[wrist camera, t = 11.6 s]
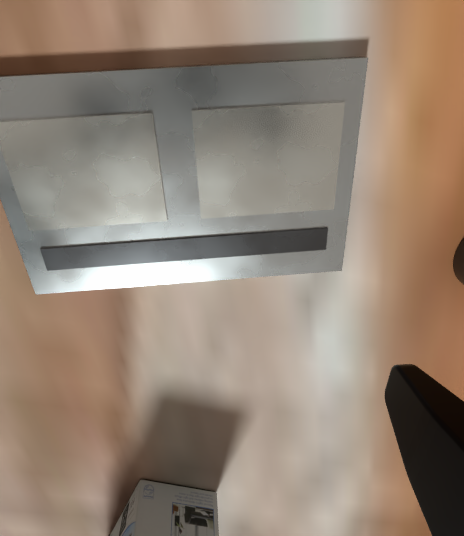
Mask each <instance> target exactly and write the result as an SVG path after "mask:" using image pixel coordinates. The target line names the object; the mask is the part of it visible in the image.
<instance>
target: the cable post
mask: <svg viewBox="0 0 464 536" xmlns="http://www.w3.org/2000/svg"><path fill="white" fill-rule="evenodd" d="M453 269H454V273H455V275H456V277H457V278H458V280H459V281H460V282H461V283H463V284H464V238H463V240H462V241H461V243H460V244H459V246H458V248H457V250H456V252H455V255H454V260H453Z"/></svg>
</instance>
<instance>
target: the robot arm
mask: <svg viewBox="0 0 464 536" xmlns="http://www.w3.org/2000/svg"><path fill="white" fill-rule="evenodd" d="M385 402H386V406H387V409H388V412H389V416H390V419H391V423H392V426H393V429H394V433H395V436H396V439H397V443H398V446H399V449H400V453H401V456H402V460H403V463H404V466H405V469H406V472H407V475H408V478H409V480H410V483H411V485H412V488H413V490H414V493H415V495H416V498H417V500H418V502H419V505H420V507H421V510H422V512H423V515H424V517H425V519H426V522H427V524H428V527H429V529H430V531H431V534H432V536H464V401H462V400H461V399H460V398H458V397H457V396H456V395H454V394H453V393H452V392H450V391H449V390H448V389H446V388H445V387H444V386H442V385H441V384H440V383H438V382H437V381H436V380H434V379H433V378H432V377H430V376H429V375H428V374H426V373H425V372H424V371H422V370H421V369H420V368H418V367H417V366H415V365H412V364H403V365H394V366H393V367H392V369H391V372H390V375H389V379H388V382H387V386H386V389H385Z"/></svg>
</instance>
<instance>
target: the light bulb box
mask: <svg viewBox="0 0 464 536" xmlns="http://www.w3.org/2000/svg"><path fill="white" fill-rule="evenodd" d="M110 536H219V530H218V509H217V493H216V492H212V491H205V490H200V489H194V488H188V487H182V486H176V485H170V484H164V483H158V482H153V481H147V480H140V481H139V483H138V485H137V487H136V488H135V490H134V492H133V494H132V496H131V498H130V499H129V501H128V503H127V505H126V507H125V509H124V511H123V512H122V514H121V516H120V518H119V520H118V521H117V523H116V525H115V527H114V529H113V531H112V533H111V534H110Z"/></svg>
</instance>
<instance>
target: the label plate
mask: <svg viewBox="0 0 464 536" xmlns="http://www.w3.org/2000/svg"><path fill="white" fill-rule="evenodd" d="M367 62H368V58H367V57H352V58H333V59H313V60H294V61H275V62H256V63H237V64H218V65H199V66H180V67H160V68H141V69H122V70H103V71H84V72H65V73H46V74H27V75H7V76H0V199H1V202H2V204H3V207H4V210H5V213H6V215H7V218H8V221H9V223H10V226H11V229H12V231H13V234H14V237H15V240H16V242H17V245H18V248H19V250H20V253H21V256H22V259H23V261H24V264H25V267H26V269H27V272H28V275H29V277H30V280H31V283H32V286H33V288H34V291H35V294H48V293H61V292H73V291H86V290H99V289H112V288H125V287H137V286H150V285H163V284H176V283H189V282H201V281H214V280H227V279H240V278H253V277H266V276H278V275H291V274H304V273H317V272H330V271H342V265H343V257H344V249H345V241H346V233H347V225H348V216H349V208H350V200H351V192H352V184H353V176H354V168H355V160H356V152H357V143H358V135H359V127H360V119H361V111H362V103H363V95H364V87H365V79H366V71H367Z"/></svg>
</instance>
